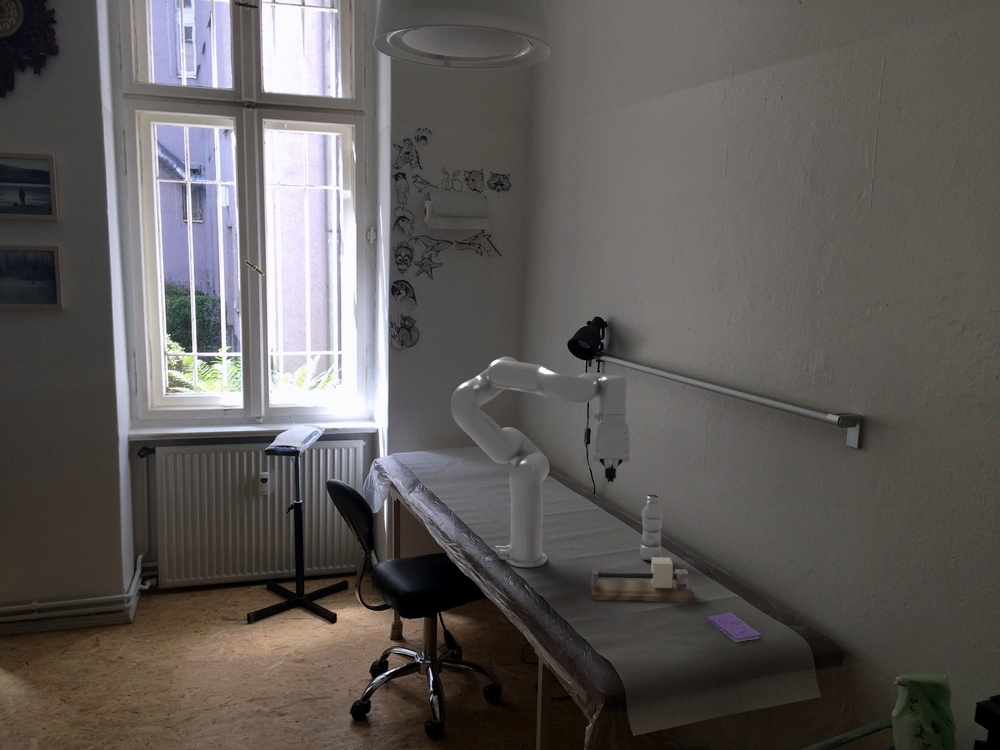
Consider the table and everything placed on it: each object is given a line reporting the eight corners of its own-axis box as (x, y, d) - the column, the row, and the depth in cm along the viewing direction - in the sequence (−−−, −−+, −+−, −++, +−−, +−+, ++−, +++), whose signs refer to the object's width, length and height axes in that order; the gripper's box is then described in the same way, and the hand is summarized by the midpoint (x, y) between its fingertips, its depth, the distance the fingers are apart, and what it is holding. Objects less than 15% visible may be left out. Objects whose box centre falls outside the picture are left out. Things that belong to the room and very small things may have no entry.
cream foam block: (653, 587, 215) (654, 563, 214) (650, 580, 220) (651, 557, 219) (671, 587, 215) (672, 564, 214) (668, 581, 219) (669, 557, 218)
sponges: (736, 645, 190) (736, 637, 190) (706, 622, 202) (706, 615, 202) (760, 640, 192) (761, 633, 192) (730, 618, 204) (730, 611, 204)
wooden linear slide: (592, 599, 213) (593, 576, 212) (589, 584, 223) (590, 562, 222) (693, 602, 212) (694, 579, 211) (686, 586, 222) (687, 564, 221)
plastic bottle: (635, 557, 244) (637, 494, 241) (654, 554, 247) (657, 492, 244) (646, 564, 238) (649, 500, 235) (665, 561, 241) (668, 498, 238)
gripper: (586, 420, 224) (585, 483, 227) (640, 421, 223) (637, 485, 226) (585, 415, 231) (583, 476, 234) (636, 416, 231) (634, 477, 233)
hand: (610, 480), depth 230 cm, fingers closed
